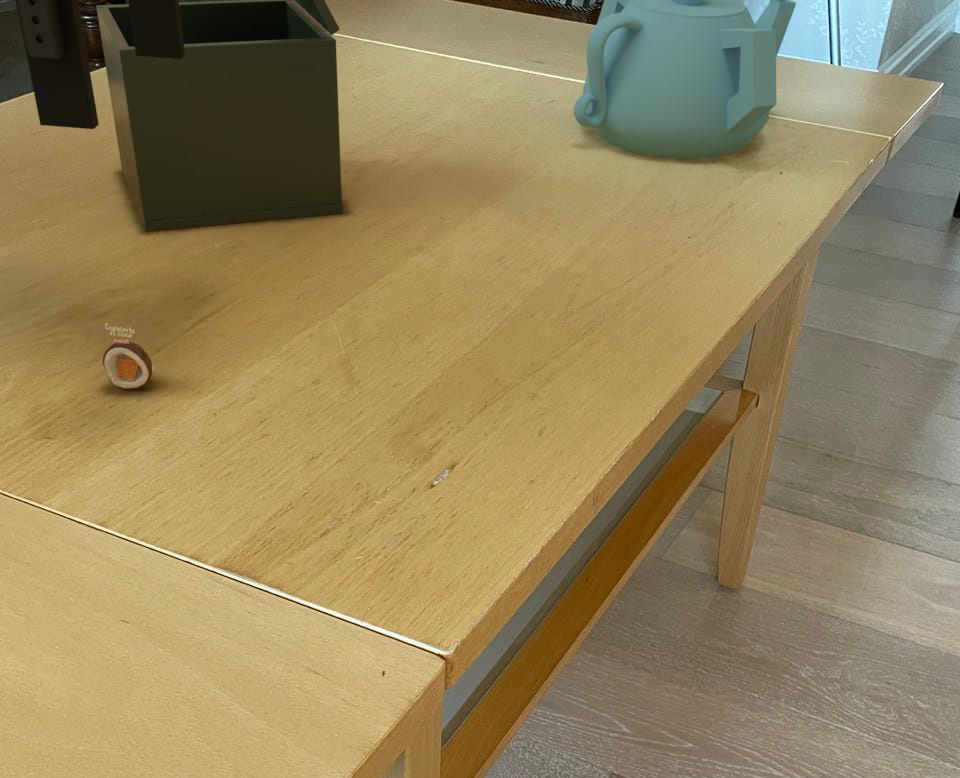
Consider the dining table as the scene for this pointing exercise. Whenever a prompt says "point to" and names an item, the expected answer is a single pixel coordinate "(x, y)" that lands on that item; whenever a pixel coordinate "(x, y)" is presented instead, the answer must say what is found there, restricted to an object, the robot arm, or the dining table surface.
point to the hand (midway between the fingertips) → (119, 88)
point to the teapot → (681, 75)
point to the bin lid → (320, 14)
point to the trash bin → (227, 115)
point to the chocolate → (127, 362)
